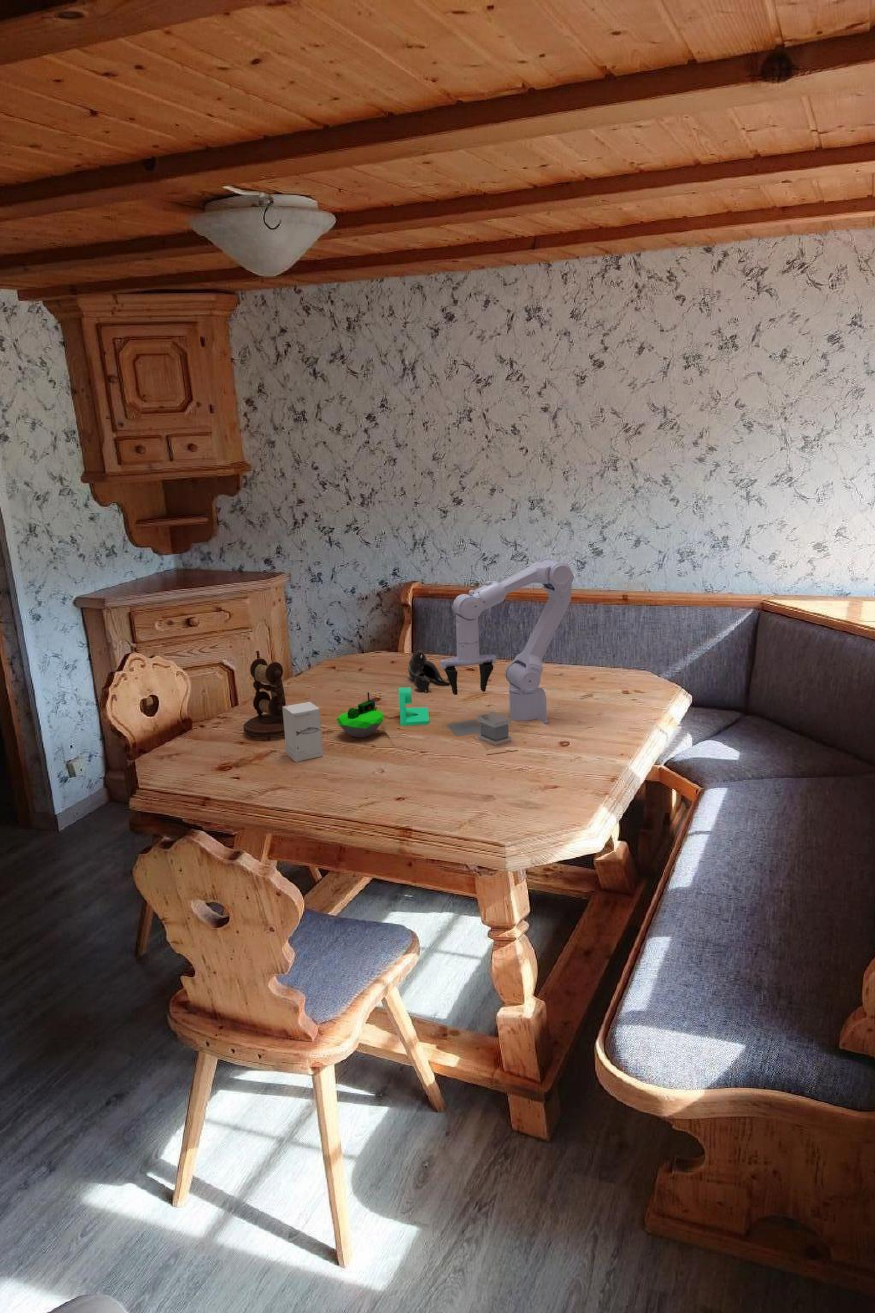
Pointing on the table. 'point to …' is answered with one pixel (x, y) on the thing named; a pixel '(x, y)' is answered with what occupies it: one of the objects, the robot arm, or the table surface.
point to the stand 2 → (489, 746)
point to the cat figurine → (423, 671)
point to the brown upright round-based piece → (267, 700)
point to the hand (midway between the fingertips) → (469, 692)
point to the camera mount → (411, 710)
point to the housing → (494, 729)
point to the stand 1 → (465, 728)
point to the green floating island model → (361, 719)
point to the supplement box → (302, 731)
